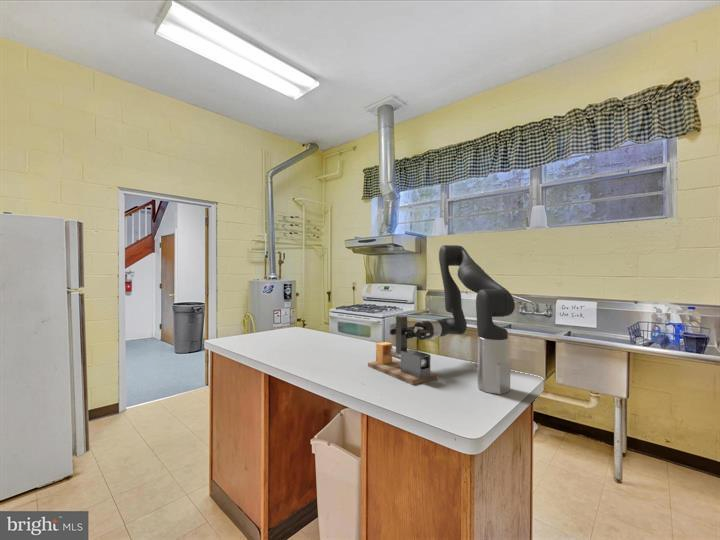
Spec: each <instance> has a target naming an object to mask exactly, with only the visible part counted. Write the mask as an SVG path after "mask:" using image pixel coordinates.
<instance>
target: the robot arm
mask: <svg viewBox="0 0 720 540" xmlns="http://www.w3.org/2000/svg"><path fill="white" fill-rule="evenodd" d="M438 260H439V261H438V262H439V267H440V274H441V279H442V285H443V290H444V308H445V312H447V313H451V314H452V317H446V318H441V319H429V320H427V319H426V320H421V321H420V320H419V321H417V322H415V323H414V325H409V326H408V325H407V332H406V333H405V338H406V339H407V340H408V339H417V340H419V341H426V340H432V339H436V338H440V337H445V336H447V335H463V334H465V333H466V331H467V327H468V326H467V319H466V318H465V314H464V311H463V308H462V294H461V289H460V288H459V286H458V285H457V283H456V282H455V280H454V279H453V277H452V275H451V272H450V268H449V267H450V266H452V267H454V266H455V267H456V266H457V267H458V269H457V277H458V279H459V281H460V282H461V284H463V286H464V287H465V288H466V289H468V290H470V291H471V292H474V293H476V298H475V309H476V310H475V311H476V329H477V388H478V389H479V390H481V391H482V392H486V393H488V394H489V393H490V394H495V395H496V394H497V395H504V394H505V393H509V392H510V391H511V362H510V361H508V356H509V355H508V353H509V352H508V351H509V350H508V347H509V345H508V344H509V343H508V341H509V339H508V338H509V334H508V333H509V332H508V330H507V329H506V328H504V327H501V326H498V325H497V324H495V323H494V322H493V318H499V317H500V318H501V317H503V318H504V317H508V316H510V315H512V314H513V313H514V311H515V308H516V307H515V306H516V305H515V304H516V303H515V300H514V298H513V295H512V294H511V292H510V291H509V290H508V289H506V288H505V287H504V286H502V285H501V284H499V283H498V282H497V281H495V280H494V279H493V278H492V277H491V276H490V275H489V274H488V273H487V272H486V271H485V270H484V269H483V268H482V267H481V266H480V265H479V264H478V263H476V262H475V261H474V259H473V258H472V257H471V256H470V254H469V253H468V251H467V249H465V248H464V246H462V245H459V244H457V245H455V244H454V245H453V244H452V245H451V244H450V245H449V244H448V245H447V244H445V245H441V246H440V248H439V251H438ZM389 335H391V336H394V335H395V336H396V326H394V328H390V329H389Z"/></svg>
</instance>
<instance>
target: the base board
mask: <svg viewBox="0 0 720 540" xmlns="http://www.w3.org/2000/svg"><path fill="white" fill-rule="evenodd" d="M367 367H369V368H371V369H374V370H376V371H377V372H381V373H382V374H383V373H384V374H385V375H387V376H391V377H393V378H395V379H397V380H400V381H402V382H404V383H407V384H409V385H412V386H414V385H417V384H421V383H426V382H429V381H434V380H437V379H438V374H437V373H433V372H431V371H430V376H429V377H425V378H421V379H419V378H417V377H414V376H411V375H409V374H406V373H404V372H401V360H398V359H394V358H392V362H391V363H386V364H380V363H378V362H376V360H375V361H369V362H367Z"/></svg>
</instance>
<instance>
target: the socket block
mask: <svg viewBox="0 0 720 540" xmlns="http://www.w3.org/2000/svg"><path fill="white" fill-rule="evenodd" d="M375 345H376V346H375V348H376V349H375V361H376V362H378V363H380V364H386V363H391V362H392V359H393V357H392V356H390V355H389V351H390V350H391V349H393V343H392V342H388V341H385V342H383V341H382V342H378V343H375Z"/></svg>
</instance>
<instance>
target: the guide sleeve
mask: <svg viewBox="0 0 720 540" xmlns="http://www.w3.org/2000/svg"><path fill="white" fill-rule="evenodd" d="M421 358H425V359H426V360H427V365H426V366H425V367H421ZM400 362H401V372H404V373H406V374H409V375H411V376H414V377H417V378H419V379H421V378H425V377H429V376H430V372H431V354H429V353H426V352H422V351H419V350H415V349H411V348H410V349H407V350H403V351H401V359H400Z"/></svg>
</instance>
